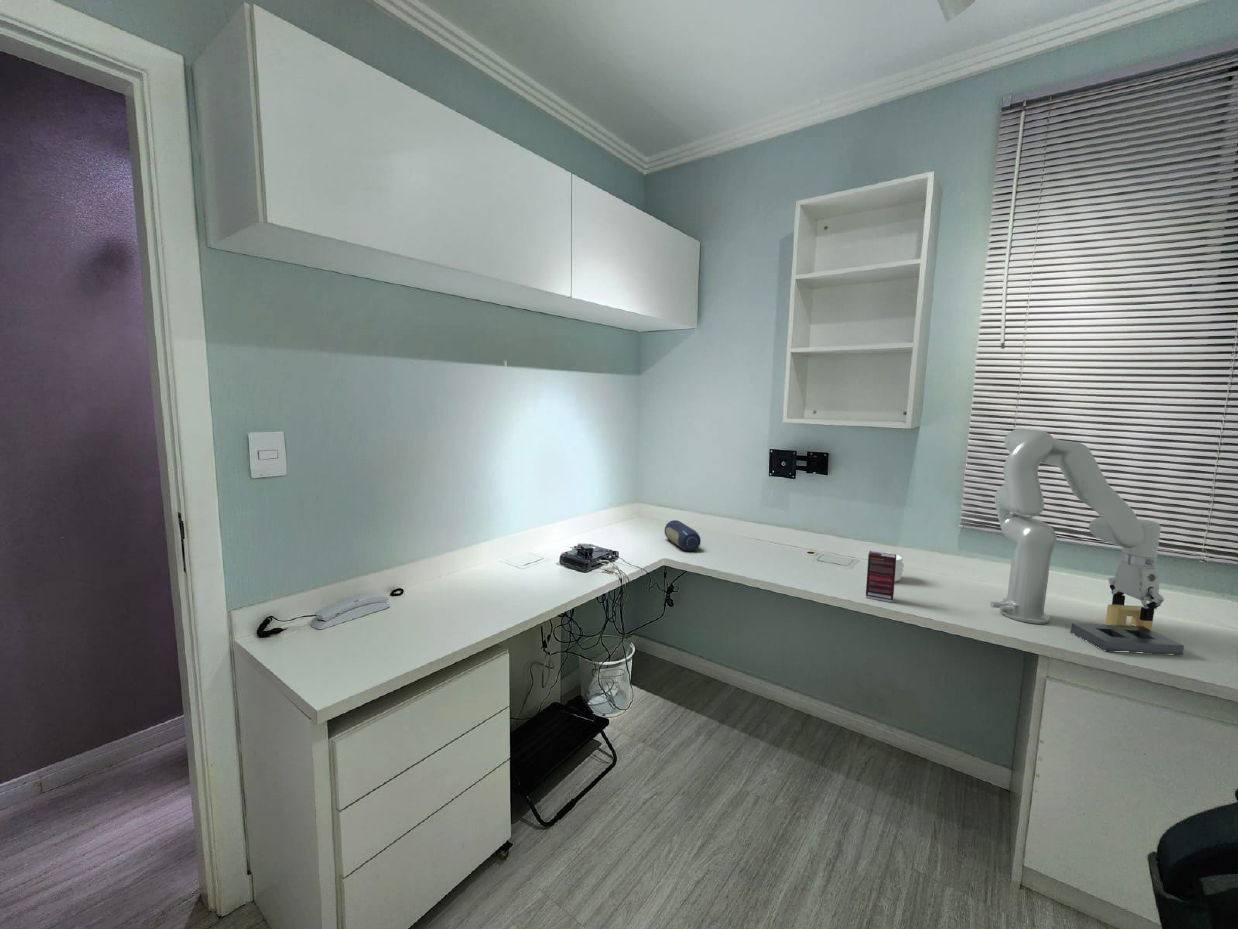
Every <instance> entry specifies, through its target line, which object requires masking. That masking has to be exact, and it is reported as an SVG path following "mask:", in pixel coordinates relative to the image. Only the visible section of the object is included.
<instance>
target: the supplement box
mask: <svg viewBox="0 0 1238 929" xmlns="http://www.w3.org/2000/svg"><path fill="white" fill-rule="evenodd" d="M889 553H890V552H882V551H881V552H880V551H875V550H874V551H873V550H869V552H868V555H867V557H868V558H867V571H866V586H865V598H866V599H871V600H876V601H877V600H878V601H884V602H888V603H893V602H894V592H895V583H896V582H895V569H896V555H897V553H896V554H895V553H891V554H889Z"/></svg>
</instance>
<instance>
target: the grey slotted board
mask: <svg viewBox="0 0 1238 929" xmlns="http://www.w3.org/2000/svg"><path fill="white" fill-rule="evenodd" d="M1070 626H1071V627H1070V633H1071V634H1072V633H1074V634H1075V635H1074V634H1073V635H1074V636H1076V637H1078V638H1079V637H1081V638H1082V639H1081V638H1080V639H1081V640H1083V639H1084V640H1083V641H1085V640H1087V641H1088V642H1089V644H1090V643H1092V644H1094V645H1095V646H1097V647H1099V648H1101V649H1102V650H1106V651H1129V652H1143V653H1150V654H1149V655H1156V654H1174V655H1173V656H1175V655H1183V654H1184V649H1185V645H1184V644H1182V643H1180V642H1178V641H1176V640H1173V639H1172V638H1169V637H1167V636H1166V635H1162V634H1160V633H1158V632H1156V631H1154V630H1152V629H1151V630H1150V629H1148V628H1146V627H1144V626H1134V625H1126V626H1124V625H1109V624H1102V623H1101V624H1100V623H1085V622H1084V623H1083V622H1081V623H1079V622H1072V623H1071V625H1070ZM1088 642H1087V643H1088ZM1092 644H1091V645H1092ZM1094 645H1093V646H1094ZM1095 646H1094V647H1095ZM1097 647H1096V648H1097ZM1099 648H1098V649H1099ZM1101 649H1100V650H1101ZM1102 650H1101V651H1102ZM1151 653H1152V654H1151Z"/></svg>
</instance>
